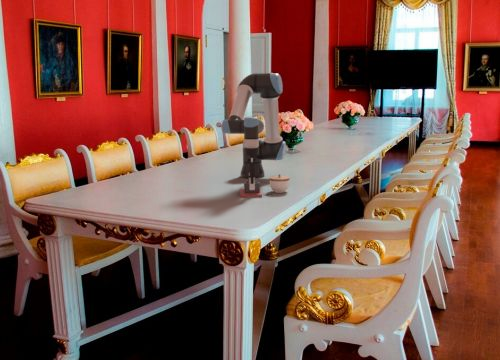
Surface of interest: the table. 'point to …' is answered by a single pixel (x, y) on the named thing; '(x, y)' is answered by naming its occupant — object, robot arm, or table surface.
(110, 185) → the table surface
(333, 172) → the table surface
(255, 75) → the robot arm
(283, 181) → the lidded jar
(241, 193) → the plate
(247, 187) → the hollow frame block
